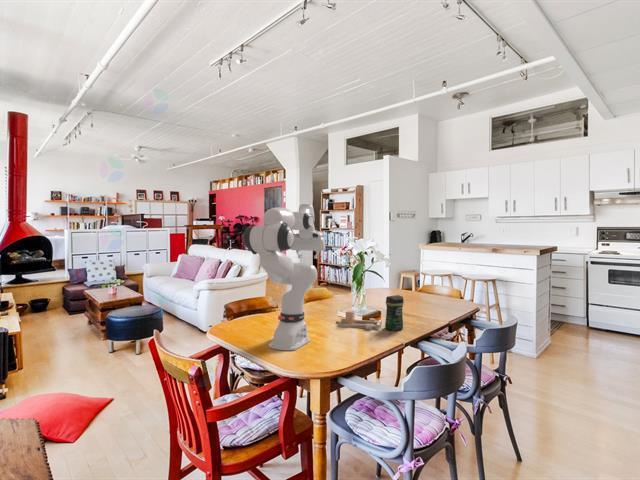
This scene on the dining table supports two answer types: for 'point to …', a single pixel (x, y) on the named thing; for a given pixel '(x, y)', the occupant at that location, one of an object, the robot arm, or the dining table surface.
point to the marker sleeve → (350, 316)
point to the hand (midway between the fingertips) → (307, 258)
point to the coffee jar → (394, 312)
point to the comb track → (362, 324)
